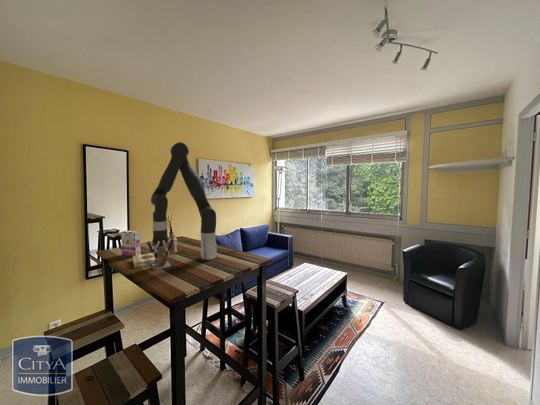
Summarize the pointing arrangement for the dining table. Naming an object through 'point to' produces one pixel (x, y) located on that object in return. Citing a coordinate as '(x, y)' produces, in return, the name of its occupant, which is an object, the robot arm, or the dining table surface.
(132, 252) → the candy bar box
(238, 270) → the dining table surface
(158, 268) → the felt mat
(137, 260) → the pocket frame
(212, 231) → the robot arm
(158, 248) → the walnut block
